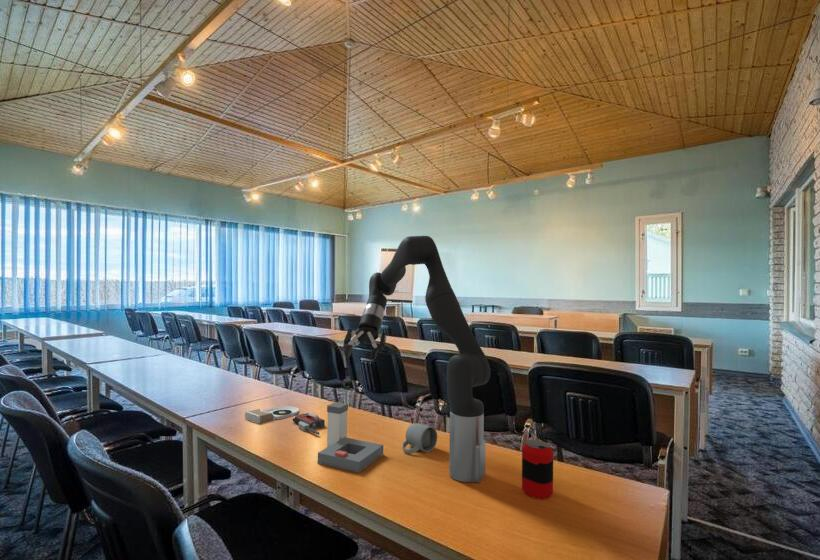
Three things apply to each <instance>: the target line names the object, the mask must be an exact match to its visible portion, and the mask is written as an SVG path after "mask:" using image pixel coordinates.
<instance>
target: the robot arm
mask: <svg viewBox="0 0 820 560" xmlns="http://www.w3.org/2000/svg"><path fill="white" fill-rule="evenodd" d="M409 265H412V266H414V265H425V267H426V269H427V271H428V275H429V278H428V284H427V288H426V291H425V297H424V298H425V299H424V300H425V305H426V307H427V309H428V312H429V315H430V317H431V320H432V321H433V322H434V324H435V325H436V326H437V328H439V330H441V331H442V332H443V333H444V334H445V335H446V336H447V337H448V338H449V339H450V340H451V341H452V342H453V344H454V345H455V347H456V348H457V350H458V353H459V354H455V355H453V356H451V357H450V358H449V360H448V363H447V366H446V387H447V391H446V393H447V394H446V395H447V399H448V404H449V459H448V460H449V463H448V464H449V466H448V467H449V476H450V477H451V478H452V479H454V480H456V481H458V482H464V483H480V482H481V481H482V480H483V478H484V477H485V475H486V439H485V438H484V429H485V428H484V427H485V426H484V424H485V423H484V420H485V419H484V417H485V416H484V415H485V413H484V412H485V411H484V410H485V407H484V403H483V401H482V400H480V399H479V398H478V399H477V398H475V397H474V396H473V388H474V387H479V386H483V385H484V386H485V385H486V384H487V383H488V382H489V381H490V378H491V366H490V364H489V361H488V358H487V356H486V355H485V353H484V350H483V349H482V347H481V346H480V344H479V342H478V340H477V339H476V337H475V336H474V333H473V332H472V329H471V327H470V325H469V323H468V320H467V319H466V317H465V314H464V312H463V310H462V307H461V305H460V303H459V301H458V297H457V296H456V294H455V292H454V290H453V288H452V285H451V283H450V281H449V278H448V276H447V273H446V271H445V269H444V265H443V263H442V259H441V256H440V253H439V250H438V247H437V245H436V242H435V241H434V239H433V237H431V236H430V235H429V236H428V235H414V236H413V235H411V236H407V237H404V238H403V239H402V240H401V242H400V243H399V245H398V247H397V249H396V251H395V253H394V255H393V257H392V259H391V261H390V262H389V263H388V264H387V266H386V267H385V268H384V269H383V270H382V272H374V273H373V274H371V276H370V278H369V281H368V282H369V283H368V299H367V302H366V305H365V308H364V309H363V312H362V315H361V317H360V318H361V319H360V321H359V324H358V327H357V329H356V330H353V329H352V328H349V329H348V330H347V332H346V335H345V338H344V339H343V343H344V346H345V347H346V349H345V352H344V353H345V355H346V357H347V358H349V359H350V358H351V355H352V351H353V348H354V347H355V346H359V344H361V345H365V344H366V345H369V346H370V345H372V347H373V348H372V350H371V353H370V357H369V358H370V361H371V362H373V361H374V360H376V358H377V354H378V352H379V351H384V350H385V346H386V340H387V335H386V332H382V333H379V332H380V329H381V326H382V323H383V320H384V316H385V315H384V314H385V310H386V307H387V302H388V300H387V297H388V296H392V295H393V294H394V293H395V291H396V288H397V284H398V283H399V282H400V281H401V280H402V279H403V278H404V277H405V275H406V272H407V268H406V267H407V266H409ZM378 338H379V345H377V342H376V340H378Z"/></svg>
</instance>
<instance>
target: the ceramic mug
mask: <svg viewBox="0 0 820 560" xmlns="http://www.w3.org/2000/svg"><path fill="white" fill-rule="evenodd" d="M437 442H438V432H437V430H436V428H435V427H434V426H431V425H428V424H422V423H417V422H416V423H414V422H413V423H412V424H410V425H409V426H408V427H407V428H406V431H405V441H403V443H402V450H403V452H404V453H405V454H408V455H411V454H414V453H417V452H418V451H419V450H420V451H422V452H424V453H430V452H431V451H433V449H434V448H435V447H436V446H437ZM408 445H409V446H411V447H412V448H409V449H408V448H406V447H407V446H408Z"/></svg>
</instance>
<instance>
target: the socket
mask: <svg viewBox="0 0 820 560" xmlns="http://www.w3.org/2000/svg"><path fill="white" fill-rule="evenodd" d="M383 455H384V444H382V443H381V444H380V443H376V442H370V441H367V440H362V439H356V438H350V437H347V438H346V437H345V438H343V439H341V440H339V441H338V442H336V443H334V444H332V445H331V446H329V447H328V446H326V448H324V449H322V450H321V451H319V452H317V464H319V465H324V466H328V467H332V468H337V469H340V470H345V471H348V472H353V473H356V474H359V473H361V472H362V471H364V470H365V469H366V468H367V467H369V466H370V465H372V464H373V463H374V462H375V461H377V460H378V459H379V458H381V457H382V456H383Z"/></svg>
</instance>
